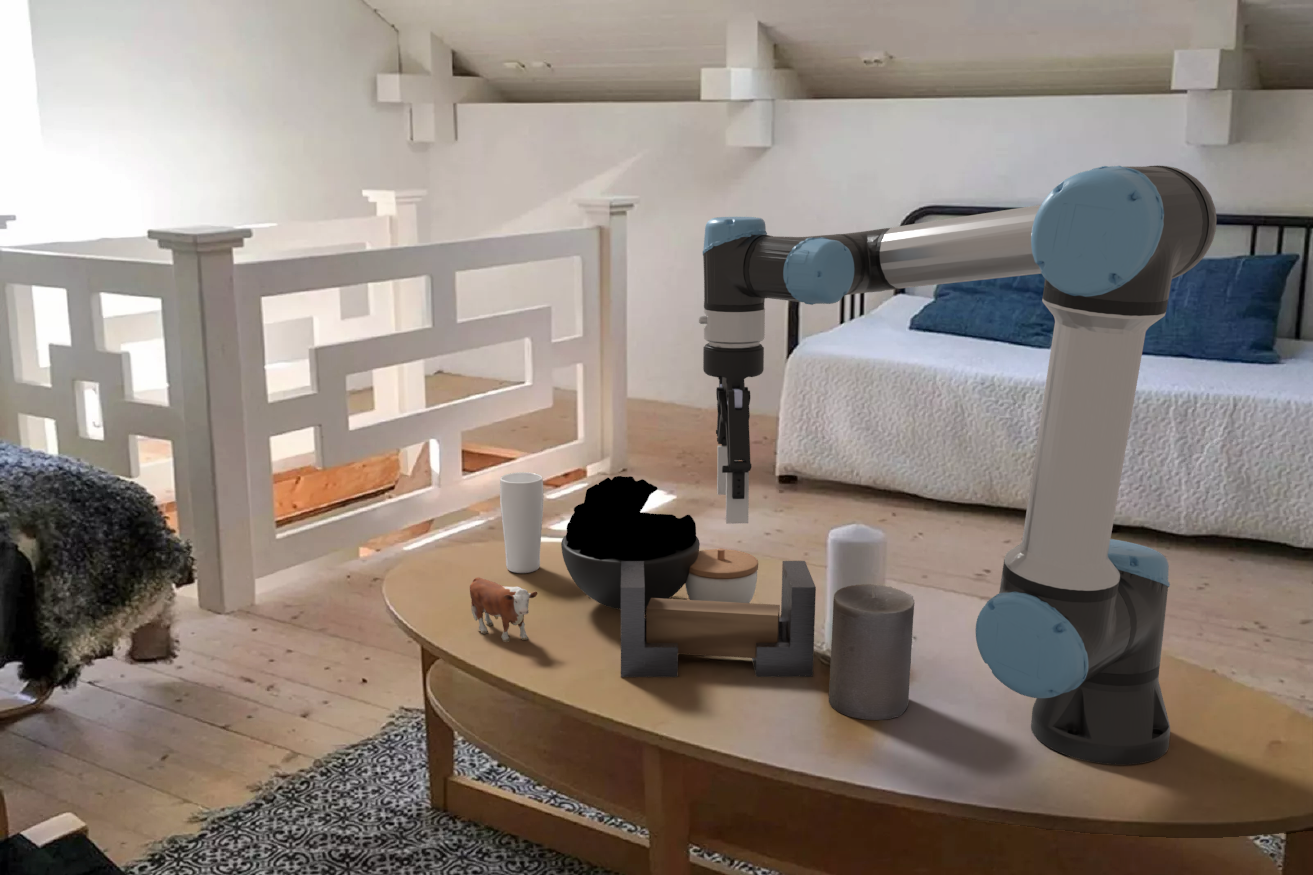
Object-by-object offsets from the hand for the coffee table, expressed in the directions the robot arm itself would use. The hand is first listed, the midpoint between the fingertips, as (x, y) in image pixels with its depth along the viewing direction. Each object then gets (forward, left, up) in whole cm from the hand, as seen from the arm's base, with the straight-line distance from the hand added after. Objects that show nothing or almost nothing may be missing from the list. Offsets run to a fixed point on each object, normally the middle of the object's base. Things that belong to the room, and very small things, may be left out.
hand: (732, 508), depth 169 cm
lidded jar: (+19, 0, -21) cm, 28 cm away
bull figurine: (+9, +30, -21) cm, 38 cm away
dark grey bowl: (+21, +13, -21) cm, 32 cm away
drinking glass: (+38, +30, -21) cm, 52 cm away
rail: (0, +2, -19) cm, 19 cm away
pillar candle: (-13, -16, -21) cm, 30 cm away
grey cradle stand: (0, +2, -21) cm, 21 cm away
